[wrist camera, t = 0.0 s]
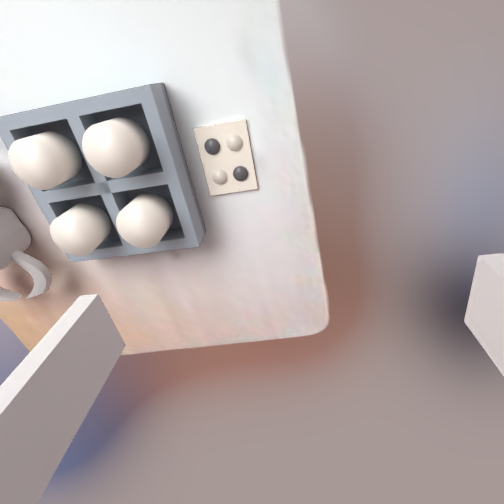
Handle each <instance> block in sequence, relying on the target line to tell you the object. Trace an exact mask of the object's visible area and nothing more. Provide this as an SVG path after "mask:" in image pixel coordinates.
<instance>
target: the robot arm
mask: <svg viewBox="0 0 504 504" xmlns="http://www.w3.org/2000/svg"><path fill="white" fill-rule="evenodd" d="M464 322H465V323H466V325H467V326H468V327H469V329H470V330H471V332H472V333H473V334H474V336H475V337H476V338H477V340H478V341H479V343H480V344H481V345H482V347H483V348H484V350H485V351H486V352H487V354H488V355H489V356H490V358H491V359H492V361H493V362H494V363H495V365H496V366H497V368H498V369H499V370H500V372H501V373H502V375H503V376H504V253H500V254H491V255H480V256H478V260H477V264H476V269H475V274H474V279H473V283H472V288H471V292H470V297H469V302H468V306H467V311H466V316H465V320H464ZM124 347H125V343H124V341H123V339H122V337H121V335H120V334H119V332H118V330H117V328H116V326H115V324H114V322H113V321H112V319H111V317H110V315H109V313H108V311H107V309H106V308H105V306H104V304H103V302H102V300H101V298H100V296H99V295H98V294H92V295H82V296H79V298H78V299H77V300H76V301H75V302H74V303H73V304H72V305H71V307H70V308H69V309H68V310H67V311H66V312H65V313H64V315H63V316H62V317H61V318H60V319H59V320H58V321H57V322H56V324H55V325H54V326H53V327H52V328H51V329H50V330H49V332H48V333H47V334H46V335H45V336H44V337H43V338H42V339H41V341H40V342H39V343H38V344H37V345H36V346H35V347H34V349H33V350H32V351H31V352H30V353H29V354H28V356H27V357H26V358H25V359H24V360H23V361H22V362H21V363H20V364H19V366H18V367H17V368H16V369H15V370H14V371H13V372H12V373H11V375H10V376H9V377H8V378H7V379H6V380H5V381H4V382H3V384H2V385H1V386H0V504H37V502H38V501H39V499H40V497H41V495H42V493H43V492H44V490H45V488H46V486H47V485H48V483H49V481H50V479H51V477H52V476H53V474H54V472H55V470H56V468H57V467H58V465H59V463H60V461H61V460H62V458H63V456H64V454H65V452H66V450H67V449H68V447H69V445H70V444H71V442H72V440H73V438H74V436H75V435H76V433H77V431H78V429H79V427H80V426H81V424H82V422H83V420H84V419H85V417H86V415H87V413H88V411H89V410H90V408H91V406H92V404H93V402H94V401H95V399H96V397H97V395H98V393H99V392H100V390H101V388H102V386H103V384H104V383H105V381H106V379H107V377H108V376H109V374H110V372H111V370H112V369H113V367H114V365H115V363H116V362H117V360H118V358H119V356H120V354H121V353H122V351H123V349H124Z"/></svg>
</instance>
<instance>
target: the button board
mask: <svg viewBox="0 0 504 504" xmlns="http://www.w3.org/2000/svg"><path fill="white" fill-rule="evenodd" d="M117 117H125V118H129V119H131V120H133V121H135V122H136V123H138V124H139V125H140V126H141V127H142V128H143V129H144V131H145V132H146V134H147V136H148V139H149V142H150V153H149V156H148V158H147V160H146V161H145V162H144V163H143V164H142V165H140V166H139V167H137V168H136V169H134V170H133V171H132V172H130V173H129V174H127V175H126V176H123V177H120V178H111V177H107V176H104V175H102V174H100V173H99V172H97V171H96V170H95V169H94V168H93V167H92V166H91V165H90V164H89V163H88V161H87V159H86V157H85V155H84V153H83V149H82V138H83V135H84V133H85V131H86V130H87V129H88V128H89V127H90V126H92V125H94V124H97V123H100V122H104V121H107V120H110V119H114V118H117ZM48 131H54V132H58V133H61V134H63V135H65V136H66V137H68V138H69V139H70V140H71V141H72V142H73V143H74V144H75V145H76V147H77V148H78V150H79V152H80V154H81V158H82V167H81V170H80V172H79V173H78V174H77V175H76V176H74V177H73V178H71V179H69V180H67V181H65V182H63V183H61V184H59V185H57V186H55V187H54V188H51V189H48V190H40V189H36V188H33V187H31V186H29V185H28V187H29V189H30V190H31V192H32V194H33V196H34V198H35V199H36V201H37V203H38V205H39V206H40V208H41V210H42V212H43V214H44V215H45V217H46V219H47V221H48V223H49V224H50V225H51V223H52V221H53V220H54V219H56V218H57V217H59V216H60V215H62V214H63V213H65V212H66V211H68V210H69V209H71V208H72V207H74V206H75V205H77V204H79V203H91V204H94V205H96V206H98V207H99V208H101V209H102V210H103V211H104V212H105V213H106V214H107V215H108V217H109V219H110V221H111V226H112V228H111V232H110V234H109V236H108V237H107V238H106V239H105V240H104V241H103V242H102V243H101V244H99V245H98V246H97V247H96V248H95V249H94V250H93V251H92V252H91V253H90V254H88V255H86V256H74V255H71V254H68V253H66V252H65V253H66V255H67V256H68V258H69V260H70V262H77V261H85V260H94V259H102V258H110V257H118V256H127V255H135V254H143V253H151V252H159V251H168V250H176V249H184V248H192V247H199V246H200V244H201V242H202V240H203V237H204V235H205V233H206V230H205V227H204V223H203V220H202V216H201V213H200V209H199V206H198V202H197V199H196V195H195V192H194V188H193V185H192V181H191V178H190V174H189V171H188V167H187V164H186V160H185V157H184V153H183V150H182V146H181V143H180V139H179V136H178V132H177V129H176V125H175V122H174V118H173V115H172V111H171V108H170V104H169V101H168V97H167V94H166V90H165V87H164V83H157V84H149V85H144V86H140V87H135V88H130V89H126V90H121V91H117V92H112V93H107V94H103V95H98V96H93V97H89V98H84V99H80V100H75V101H70V102H66V103H61V104H56V105H52V106H47V107H43V108H38V109H33V110H29V111H24V112H19V113H15V114H10V115H6V116H1V117H0V137H1V139H2V140H3V142H4V144H5V146H6V148H7V149H8V151H9V148H10V146H11V144H12V143H13V142H14V141H16V140H18V139H22V138H25V137H29V136H33V135H36V134H40V133H44V132H48ZM143 193H154V194H157V195H159V196H161V197H162V198H164V199H165V200H166V201H167V202H168V203H169V205H170V206H171V208H172V211H173V222H172V224H171V226H170V227H169V229H168V230H167V232H166V233H165V234H164V236H163V237H162V239H161V240H160V242H159V243H158V244H157V245H155V246H153V247H150V248H139V247H135V246H133V245H131V244H129V243H128V242H126V241H125V240H124V239H123V238H122V237H121V235H120V234H119V232H118V230H117V226H116V218H117V215H118V214H119V212H120V211H121V210H122V209H123V208H124V207H125V206H127V205H128V204H129V203H130V202H131V201H132V200H133V199H134V198H136V197H137V196H138V195H140V194H143Z"/></svg>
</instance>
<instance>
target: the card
mask: <svg viewBox="0 0 504 504" xmlns="http://www.w3.org/2000/svg"><path fill="white" fill-rule="evenodd" d="M193 130H194V134H195V138H196V141H197V145H198V149H199V153H200V157H201V161H202V165H203V168H204V172H205V176H206V180H207V184H208V188H209V191H210V195H211V196H213V195H220V194H227V193H233V192H240V191H247V190H253V189H258V186H257V180H256V175H255V169H254V164H253V158H252V152H251V147H250V141H249V135H248V130H247V124H246V119H242V120H237V121H232V122H226V123H221V124H216V125H210V126H205V127H199V128H194V129H193Z"/></svg>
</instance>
